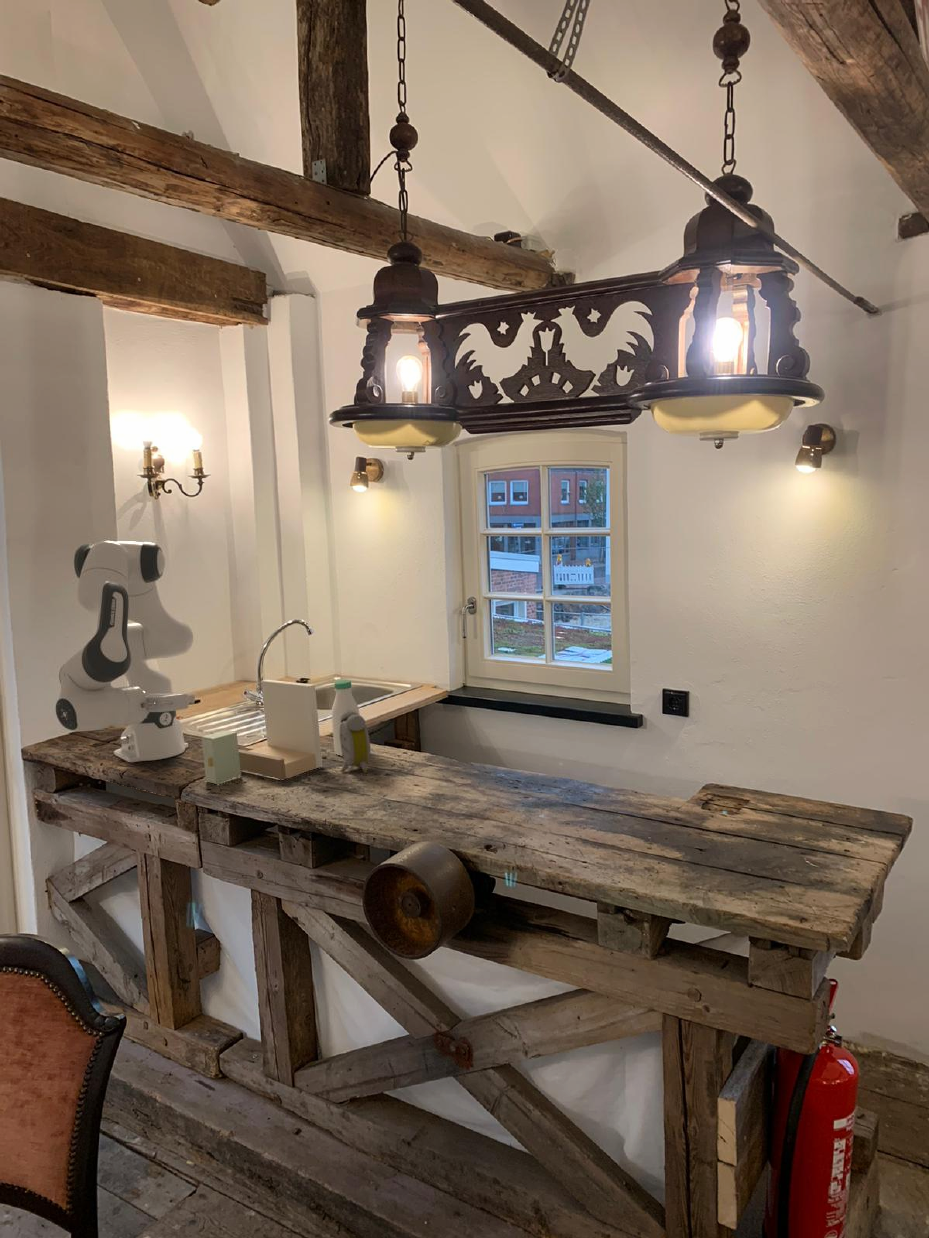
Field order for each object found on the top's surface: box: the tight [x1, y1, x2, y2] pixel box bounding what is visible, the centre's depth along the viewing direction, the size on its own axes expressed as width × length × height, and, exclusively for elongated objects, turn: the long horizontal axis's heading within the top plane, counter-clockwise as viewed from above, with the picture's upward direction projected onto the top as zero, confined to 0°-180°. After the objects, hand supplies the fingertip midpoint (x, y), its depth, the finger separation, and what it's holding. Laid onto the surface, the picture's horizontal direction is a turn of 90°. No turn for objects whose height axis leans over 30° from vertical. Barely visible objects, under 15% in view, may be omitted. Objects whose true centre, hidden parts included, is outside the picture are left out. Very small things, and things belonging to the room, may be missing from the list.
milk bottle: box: [331, 680, 361, 757], centre depth 238 cm, size 8×8×20 cm
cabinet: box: [201, 729, 242, 784], centre depth 221 cm, size 5×8×12 cm, turn 140°
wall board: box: [238, 679, 323, 780], centre depth 227 cm, size 20×14×22 cm
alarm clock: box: [340, 710, 371, 774], centre depth 221 cm, size 12×7×15 cm, turn 22°
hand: (180, 698), depth 211 cm, fingers open, 8 cm apart
